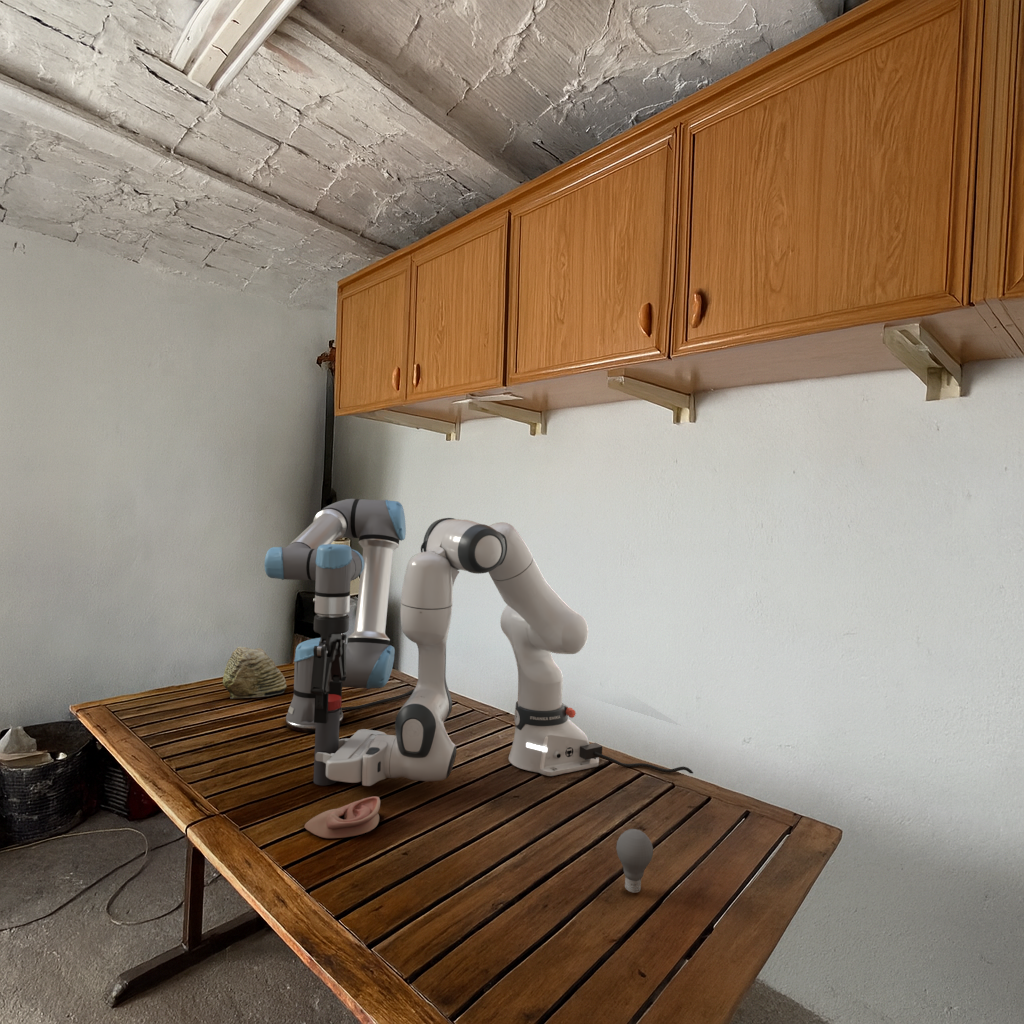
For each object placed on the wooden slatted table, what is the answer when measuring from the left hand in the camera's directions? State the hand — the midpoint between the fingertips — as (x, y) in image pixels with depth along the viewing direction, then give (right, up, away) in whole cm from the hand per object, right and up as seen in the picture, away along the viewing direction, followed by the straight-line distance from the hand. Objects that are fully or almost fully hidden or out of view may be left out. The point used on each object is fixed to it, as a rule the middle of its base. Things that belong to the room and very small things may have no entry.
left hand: (327, 715), depth 141 cm
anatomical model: (+8, -15, -18) cm, 25 cm away
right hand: (-1, -8, 0) cm, 8 cm away
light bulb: (+61, -18, -35) cm, 73 cm away
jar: (-1, -15, 0) cm, 15 cm away
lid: (0, +4, 0) cm, 4 cm away
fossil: (-40, -12, +57) cm, 70 cm away
